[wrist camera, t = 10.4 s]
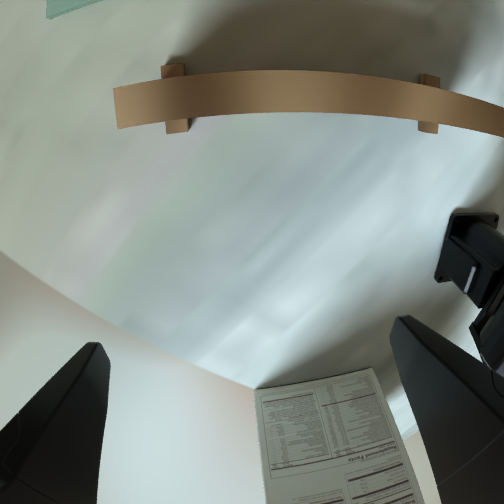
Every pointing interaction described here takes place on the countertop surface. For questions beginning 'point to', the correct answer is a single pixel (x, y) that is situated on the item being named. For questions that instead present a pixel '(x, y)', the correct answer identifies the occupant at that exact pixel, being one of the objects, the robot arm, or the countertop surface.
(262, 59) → the countertop surface
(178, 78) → the screen
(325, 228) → the countertop surface
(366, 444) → the supplement box
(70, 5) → the mat
